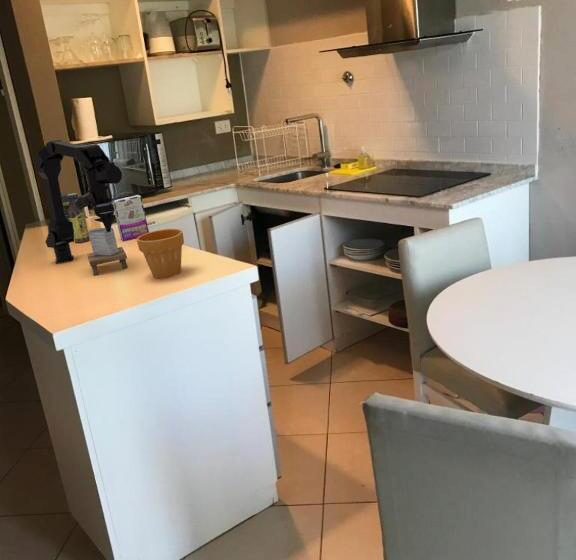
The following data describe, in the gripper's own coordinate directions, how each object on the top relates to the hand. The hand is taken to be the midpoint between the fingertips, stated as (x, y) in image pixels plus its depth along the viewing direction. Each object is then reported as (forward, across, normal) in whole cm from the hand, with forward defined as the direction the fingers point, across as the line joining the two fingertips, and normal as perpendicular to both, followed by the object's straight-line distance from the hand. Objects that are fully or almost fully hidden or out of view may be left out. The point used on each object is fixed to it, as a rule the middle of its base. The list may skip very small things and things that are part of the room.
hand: (107, 229), depth 212 cm
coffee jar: (+13, -71, -13) cm, 73 cm away
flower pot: (+14, +23, +14) cm, 30 cm away
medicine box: (+8, 0, -2) cm, 9 cm away
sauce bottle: (+13, -53, -9) cm, 55 cm away
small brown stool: (+13, 0, -2) cm, 13 cm away
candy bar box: (+13, -40, +11) cm, 44 cm away
